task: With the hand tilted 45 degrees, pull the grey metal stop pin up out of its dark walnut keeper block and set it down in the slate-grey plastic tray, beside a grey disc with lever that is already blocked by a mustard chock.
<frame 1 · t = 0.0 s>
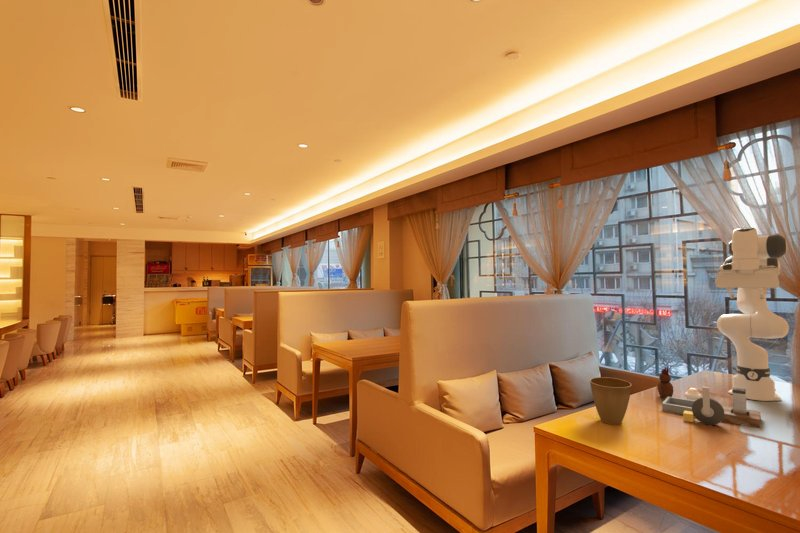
hand: (747, 298, 170), 48 cm above the table, tool pointing down, fingers open, 8 cm apart
tray: (682, 409, 175), on the table
stop pin: (739, 404, 162), in the keeper
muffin: (693, 403, 184), on the table
keeper: (740, 419, 162), on the table
grey disc with lever: (708, 423, 158), on the table
plant pot: (611, 422, 162), on the table
wooden figurine: (665, 397, 193), on the table
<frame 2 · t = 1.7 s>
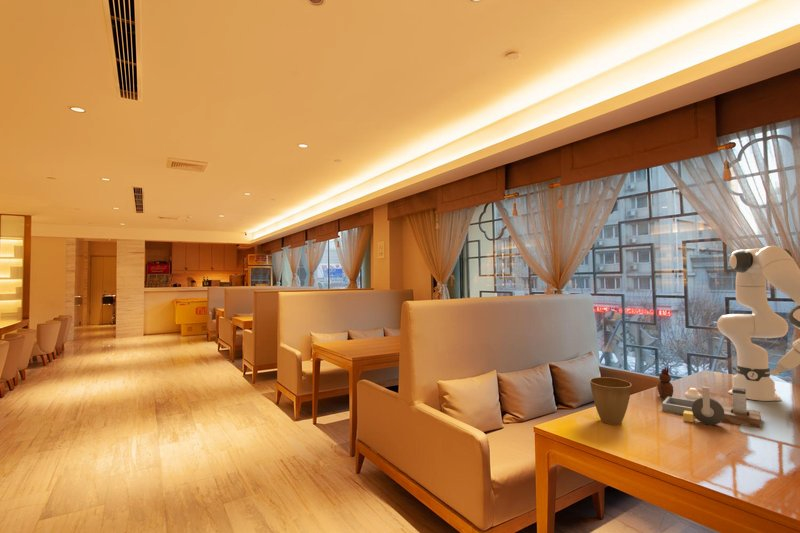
hand: (774, 373, 155), 20 cm above the table, tool tilted 45°, fingers open, 8 cm apart
nothing on the table moved.
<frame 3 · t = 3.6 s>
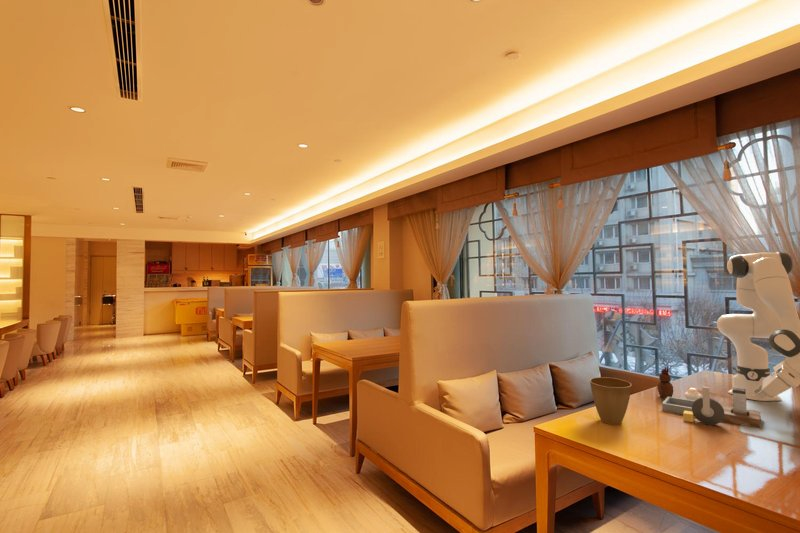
hand: (754, 395, 159), 11 cm above the table, tool tilted 45°, fingers open, 8 cm apart
nothing on the table moved.
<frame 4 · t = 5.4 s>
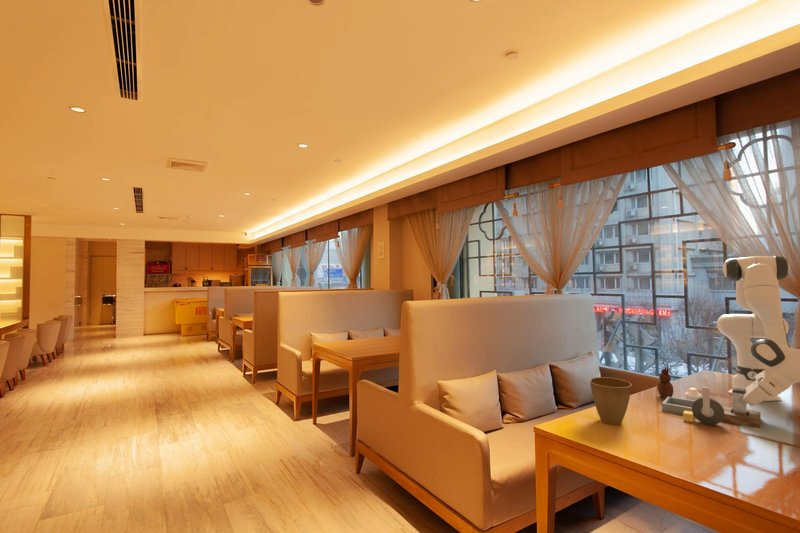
hand: (737, 403, 162), 6 cm above the table, tool tilted 45°, fingers closed on stop pin, 4 cm apart
stop pin: (739, 404, 162), in the keeper, touching gripper
everything else where it was.
when the fingers open (8 cm above the table, at t = 11.8 s): stop pin stays where it is, resting on tray.
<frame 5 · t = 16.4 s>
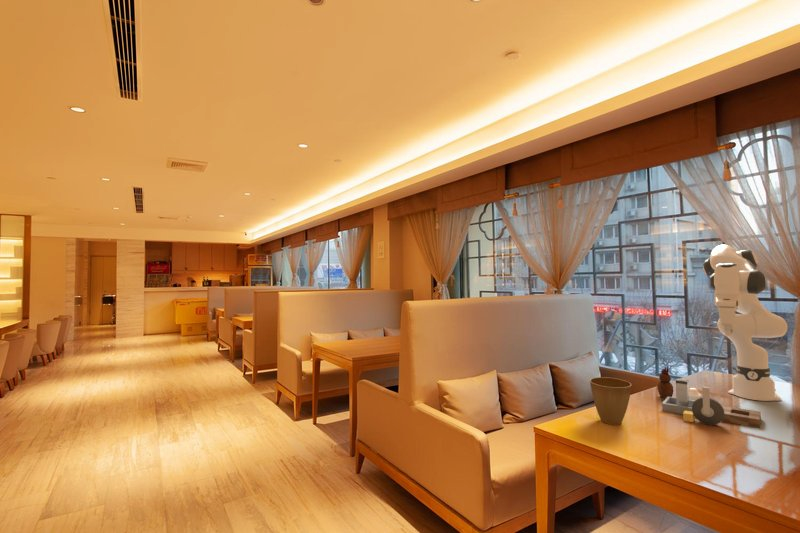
hand: (728, 334, 170), 33 cm above the table, tool pointing down, fingers open, 8 cm apart
stop pin: (682, 394, 175), in the tray, point 7 cm above the table
everything else where it was.
at the end: stop pin inside the target area on the tray (0.1 cm from its centre), point 6.7 cm above the tray's base; the gripper is holding nothing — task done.
